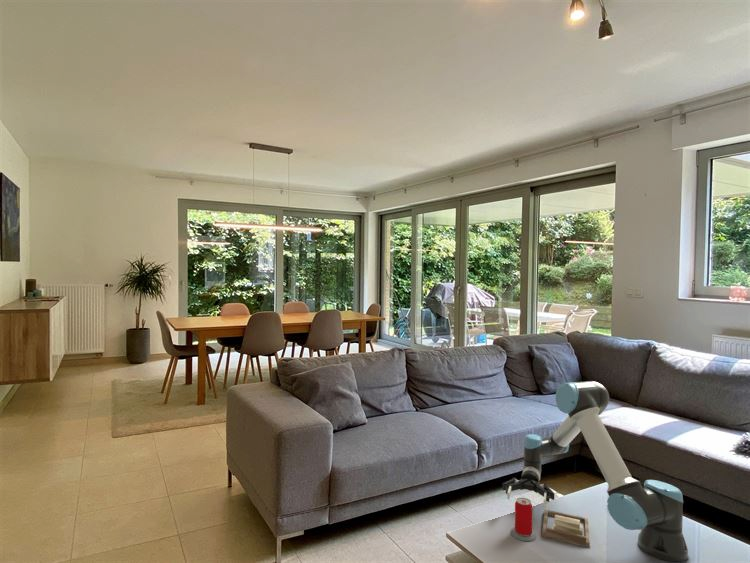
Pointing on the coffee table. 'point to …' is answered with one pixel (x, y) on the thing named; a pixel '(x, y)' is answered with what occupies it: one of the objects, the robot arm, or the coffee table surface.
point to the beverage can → (523, 516)
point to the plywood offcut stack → (568, 525)
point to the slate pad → (523, 538)
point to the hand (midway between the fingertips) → (526, 499)
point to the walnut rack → (566, 535)
